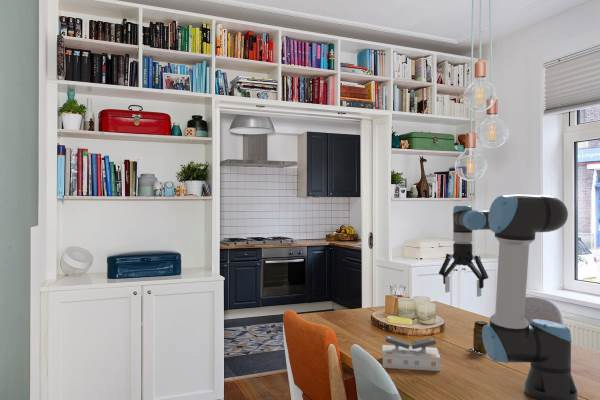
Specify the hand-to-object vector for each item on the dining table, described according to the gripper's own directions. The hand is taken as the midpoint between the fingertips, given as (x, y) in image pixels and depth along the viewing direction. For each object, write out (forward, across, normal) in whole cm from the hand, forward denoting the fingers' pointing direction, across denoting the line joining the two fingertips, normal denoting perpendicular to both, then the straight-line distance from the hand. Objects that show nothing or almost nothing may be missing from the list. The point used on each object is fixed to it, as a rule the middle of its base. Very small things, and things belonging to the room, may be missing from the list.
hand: (462, 294), depth 197 cm
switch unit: (+24, +9, +27) cm, 38 cm away
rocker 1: (+17, +13, +30) cm, 37 cm away
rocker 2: (+17, +5, +24) cm, 30 cm away
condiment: (+24, -4, -7) cm, 26 cm away
